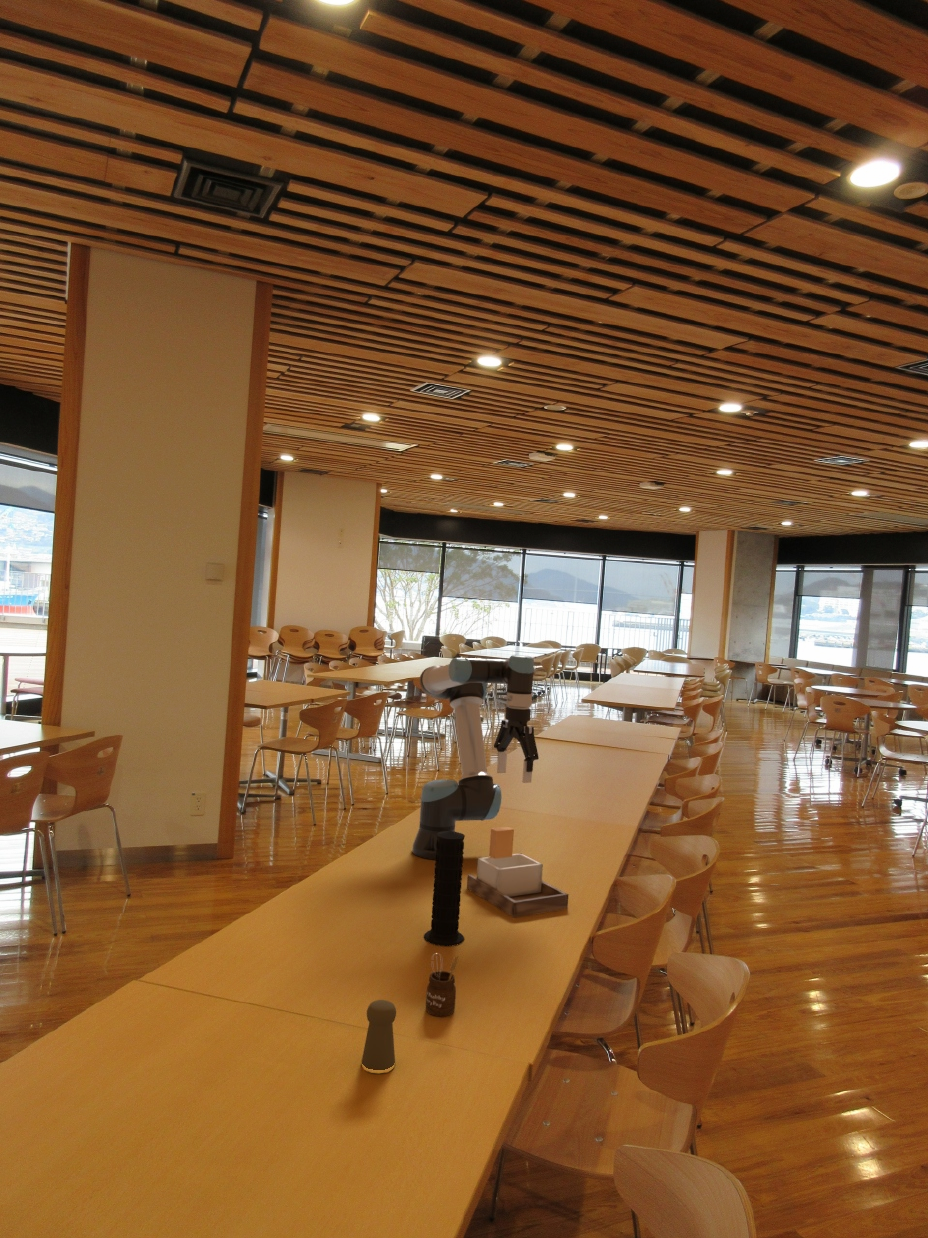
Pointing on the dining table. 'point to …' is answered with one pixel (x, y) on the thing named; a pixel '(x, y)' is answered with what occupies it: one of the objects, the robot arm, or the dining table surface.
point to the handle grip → (447, 890)
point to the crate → (509, 866)
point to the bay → (521, 899)
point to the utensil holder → (441, 991)
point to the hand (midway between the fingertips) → (513, 777)
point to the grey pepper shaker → (379, 1036)
